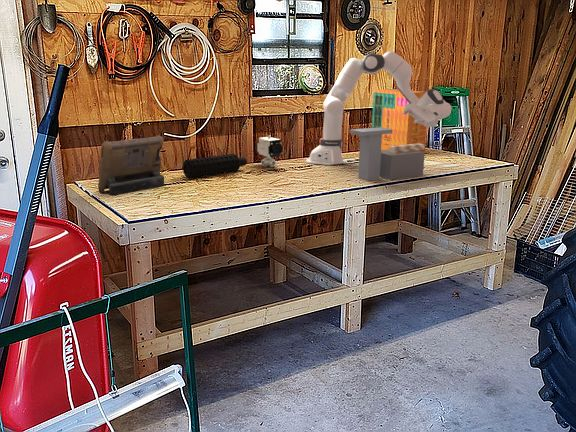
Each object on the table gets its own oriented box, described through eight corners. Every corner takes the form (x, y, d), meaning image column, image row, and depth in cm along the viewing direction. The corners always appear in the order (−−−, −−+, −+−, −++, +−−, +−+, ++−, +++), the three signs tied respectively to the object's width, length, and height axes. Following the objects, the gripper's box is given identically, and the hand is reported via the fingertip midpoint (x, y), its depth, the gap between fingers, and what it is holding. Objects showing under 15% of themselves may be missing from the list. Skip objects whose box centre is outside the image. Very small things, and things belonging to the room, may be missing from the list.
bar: (419, 148, 317) (419, 143, 316) (424, 149, 314) (424, 144, 313) (388, 151, 306) (388, 146, 305) (393, 152, 303) (393, 147, 302)
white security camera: (254, 164, 336) (254, 134, 331) (266, 162, 341) (266, 133, 336) (270, 169, 322) (270, 138, 317) (283, 167, 327) (283, 137, 322)
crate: (403, 170, 323) (404, 147, 319) (422, 175, 310) (424, 152, 306) (371, 174, 312) (372, 150, 308) (390, 179, 299) (391, 155, 295)
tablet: (151, 181, 291) (148, 132, 284) (169, 185, 283) (166, 135, 276) (95, 192, 266) (91, 139, 259) (113, 197, 258) (109, 142, 251)
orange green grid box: (370, 147, 399) (373, 89, 388) (389, 145, 409) (392, 88, 398) (405, 154, 372) (409, 92, 361) (424, 152, 382) (429, 91, 371)
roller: (239, 165, 326) (242, 149, 321) (248, 173, 320) (251, 157, 315) (180, 173, 302) (182, 156, 297) (189, 182, 296) (191, 165, 291)
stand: (377, 175, 310) (380, 127, 303) (389, 178, 302) (392, 129, 295) (347, 178, 301) (349, 129, 293) (359, 182, 292) (361, 131, 285)
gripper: (417, 99, 322) (399, 102, 315) (441, 117, 309) (423, 121, 303) (414, 109, 326) (396, 112, 319) (437, 127, 313) (419, 131, 307)
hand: (409, 116), depth 311 cm, fingers open, 8 cm apart
